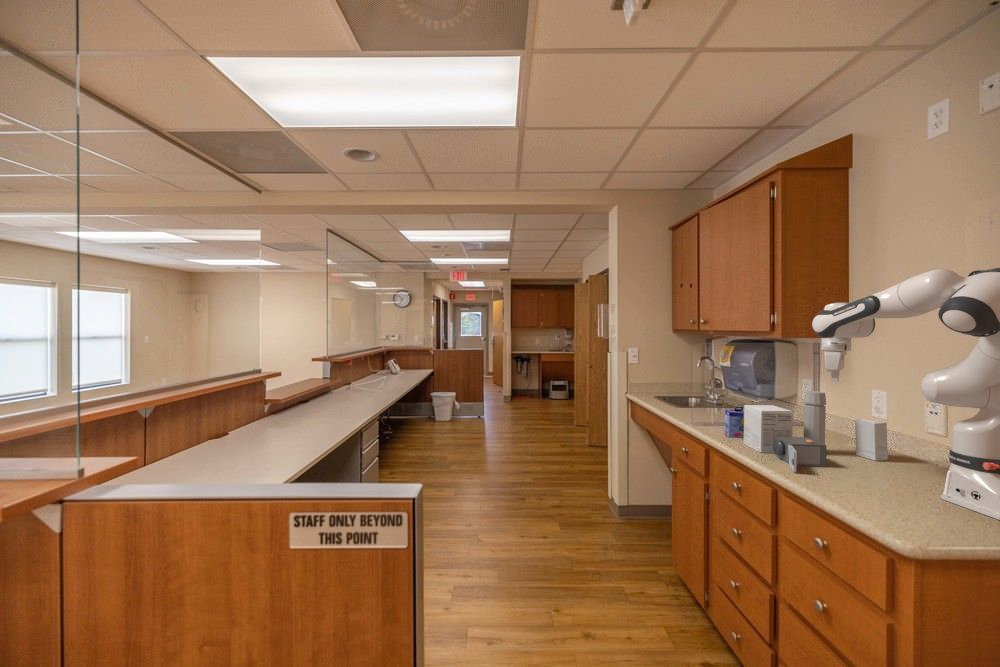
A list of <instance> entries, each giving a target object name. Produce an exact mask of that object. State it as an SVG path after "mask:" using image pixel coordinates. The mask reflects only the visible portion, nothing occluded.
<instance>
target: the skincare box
mask: <svg viewBox="0 0 1000 667" xmlns="http://www.w3.org/2000/svg"><path fill="white" fill-rule="evenodd" d="M854 425H855V427H854V428H855V455H856V456H858V457H862V458H865V459H869V460H871V461H880V462H881V461H882V462H883V461H884V462H885V461H888V460H889V457H888V455H889V454H888V452H889V448H888V430H887V429H888V426H887V422H884V421H880V420H879V421H878V420H873V419H869V418H861V419H860V418H858V419H855V420H854Z"/></svg>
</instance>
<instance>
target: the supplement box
mask: <svg viewBox="0 0 1000 667" xmlns="http://www.w3.org/2000/svg"><path fill="white" fill-rule="evenodd" d="M743 410H744V438H743V445H745V446H746V447H749V448H751V449H753V450H754V451H757V452H759V453H764V454H765V453H767V454H768V453H770V454H772V453H773V454H776V453H775V452H774V448H773V444H774V441H776V436H781V437H793V420H794V419H793V418H794V417H793V416H794V415H793V414H794V413H793V412H794V411H793V410H790V409H786V408H783V407H781V406H780V407H779V406H776V405H774V404H773V405H772V404H770V405H769V404H764V405H762V404H744V405H743Z"/></svg>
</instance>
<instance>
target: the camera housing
mask: <svg viewBox="0 0 1000 667" xmlns="http://www.w3.org/2000/svg"><path fill="white" fill-rule="evenodd" d="M788 444H790V445H792V446H793V448H794V449H795V450H796V452H797V466H798V467H800V466H801V467H802V466H806V467H827V445H826V443H825V444H822V443H820V442H818V441H815V440H813V439H811V438H809V437H804V436H803V437H802V436H792V437H781V436H776V441H774V444H773V448H774V452H775V453H774V454H775V457H776V456H777V457H776V458H778V459H779V460H782V461H784V462H785V463H786V464H788Z"/></svg>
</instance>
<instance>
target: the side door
mask: <svg viewBox="0 0 1000 667" xmlns="http://www.w3.org/2000/svg"><path fill="white" fill-rule="evenodd" d="M787 464H788V465H789V466H790V468H791V470H792V472H793V473H797V467H798V465H797V452H796V450H795V449H794V448H793V446H792V445H790V444H788V463H787Z"/></svg>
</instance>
